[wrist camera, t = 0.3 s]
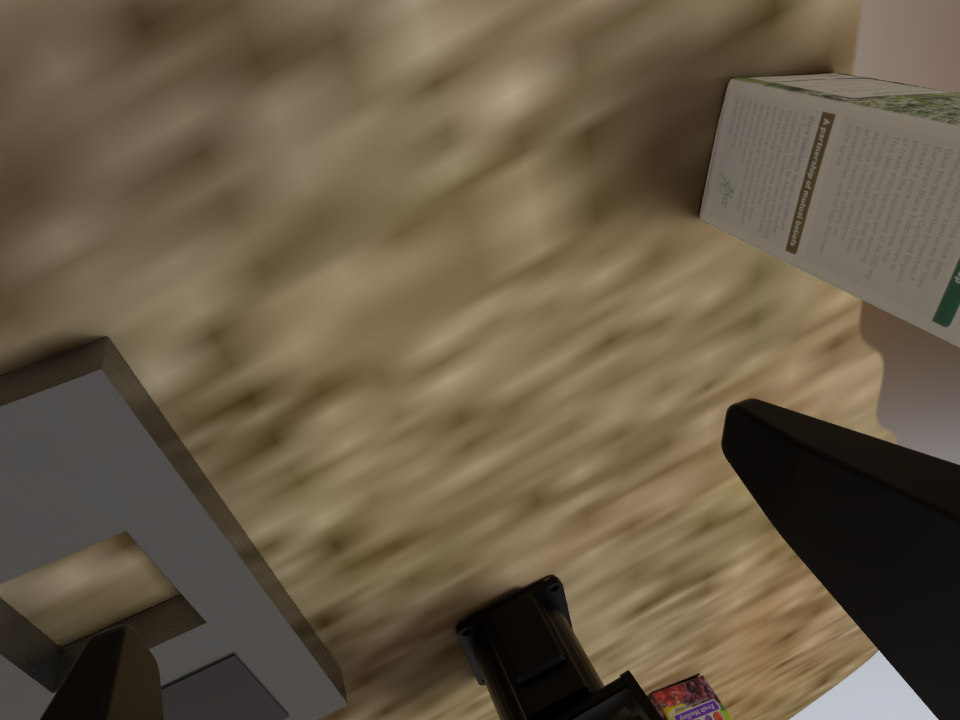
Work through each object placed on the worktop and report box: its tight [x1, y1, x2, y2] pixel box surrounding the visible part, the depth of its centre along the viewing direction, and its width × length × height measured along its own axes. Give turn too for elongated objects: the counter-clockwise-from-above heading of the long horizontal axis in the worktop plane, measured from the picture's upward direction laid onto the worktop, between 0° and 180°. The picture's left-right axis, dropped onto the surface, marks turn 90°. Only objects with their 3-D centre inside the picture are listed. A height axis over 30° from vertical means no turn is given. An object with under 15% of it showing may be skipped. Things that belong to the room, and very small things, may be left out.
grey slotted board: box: [0, 337, 348, 720], centre depth 25 cm, size 22×11×2 cm, turn 13°
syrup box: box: [700, 73, 960, 348], centre depth 20 cm, size 6×6×14 cm
